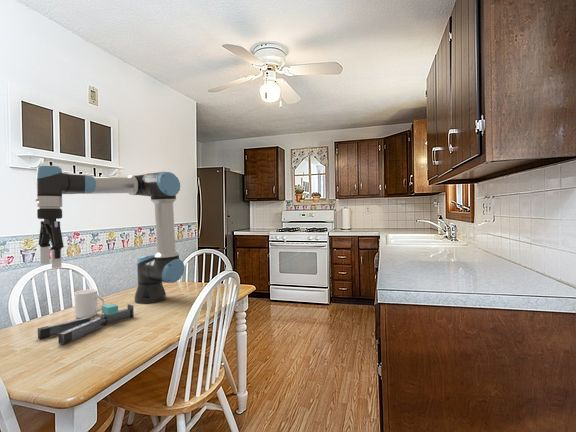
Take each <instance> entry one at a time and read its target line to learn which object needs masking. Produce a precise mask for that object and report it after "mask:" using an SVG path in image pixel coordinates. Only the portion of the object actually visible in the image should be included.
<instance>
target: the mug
mask: <svg viewBox="0 0 576 432" xmlns="http://www.w3.org/2000/svg"><path fill="white" fill-rule="evenodd" d="M98 300H100V301H101V302H102V305H105V301H104V298H103V297H102V296H101V295H100V294H98V290H97V289H94V288H93V289H92V288H89V289H87V288H86V289H82V290H80V289H79V290H78V291H75V292H74V315H75V318H77V319H81V318H85V317H90V318H92V317H96V316H97V314H98V313H99V312H102V306H101V307H100V308H98V305H99V304H98V303H99V302H98Z"/></svg>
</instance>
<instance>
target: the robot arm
mask: <svg viewBox="0 0 576 432" xmlns="http://www.w3.org/2000/svg"><path fill="white" fill-rule="evenodd" d="M35 178H36V192H37V193H36V196H37V197H36V198H35V200H34V201H35V202H37V204H36V205H37V207H38V209H37V213H36V214H37V219H38V220H41V221H40V229H39V235H38V246H39V247H40V265H41V266H42V265H50V263H51V269H59V268H62V249H63V248H64V247H65V246H64V240H63V235H62V228H61V222H60V221H59V219H60V220H61V219H62V218H63V209H62V208H63V195H80V194H81V195H82V194H83V195H85V194H86V195H88V194H89V195H90V194H93V195H94V194H99V195H100V194H128V195H130V196H145V197H150V201H151V202H152V203H153V204H154V216H155V217H154V219H155V221H154V222H155V233H156V234H155V237H156V253H155V254H149V255H143V256H141V255H140V256H139V257H138V258H137V261H136V263H137V264H136V266H137V288H136V291H135V294H134V298H133V299H134V303H137V304H152V303H158V302H162V301H164V300H166V298H167V293H166V290H165V288H164V285H163V283H165V284H169V283H171V284H172V283H173V284H174V283H176V282H178V281H179V280H180V279H181V278H182V277H183V275H184V273H185V264H184V262H183V260H181V259H180V253H179V252H177V251H176V237H175V236H176V235H175V233H176V232H175V217H174V216H175V214H174V202H176V201H177V195H178V193H179V192H180V190H181V182H180V180H179V177H177V176H176V174H175V173H173V172H171V171H170V172H169V171H160V172H159V171H158V172H151V173H145V174H144V173H143V174H138V175H131V174H130V175H128V176H126V177H124V176H123V177H122V176H121V177H120V176H119V177H118V176H93V175H91V174H86V173H82V174H81V173H71V172H70V173H69V172H63V170H62V167H60V166H58V165H50V164H49V165H45V164H43V165H39V166H38V167H37V168H36V177H35ZM50 251H51V257H50ZM50 260H51V261H50Z"/></svg>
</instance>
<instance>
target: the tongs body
mask: <svg viewBox="0 0 576 432" xmlns="http://www.w3.org/2000/svg"><path fill="white" fill-rule="evenodd" d="M134 315H135V313H134V305H133V304H130V303H129V304H127V308H124V309H120V310H119V309H118V313H116V314H112V315H106V314H104V313H101V315H98V316H97V315H96V316H93V318H92V320H94V319H97V318H100V319H101V321H102V327H105V326H107V325H109V324H112V323H116V322H121V321H124V320H128V319H134V317H135V316H134ZM89 321H91V317H85V318H77V319H73V320H69V321H64V322H60V323H56V324H55V323H54V324H51V325H45V326H42V327H38V328H37V338H38V339H39V340H44V339H48V338H50V337H55V336H58V334H59V333H61V332H64V331H67V330H69V329H72V328H74V327H77V326H79V325H82V324H84V323H87V322H89Z"/></svg>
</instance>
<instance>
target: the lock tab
mask: <svg viewBox="0 0 576 432" xmlns="http://www.w3.org/2000/svg"><path fill="white" fill-rule="evenodd" d="M101 307H102V310H101V314H106V315H112V314H116V313H118V311H119V305H118V304H114V303H112V302H111V303H107V304H104V305H103V304H102V305H101Z"/></svg>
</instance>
